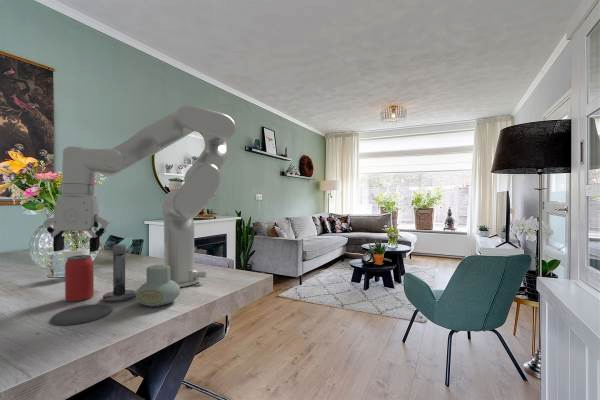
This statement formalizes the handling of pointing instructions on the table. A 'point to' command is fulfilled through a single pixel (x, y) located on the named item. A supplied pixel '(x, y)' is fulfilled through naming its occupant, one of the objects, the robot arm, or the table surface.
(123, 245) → the bar
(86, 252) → the white cup
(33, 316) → the table surface
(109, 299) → the clip post
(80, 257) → the beer can
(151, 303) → the air freshener
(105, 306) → the rubber mat
